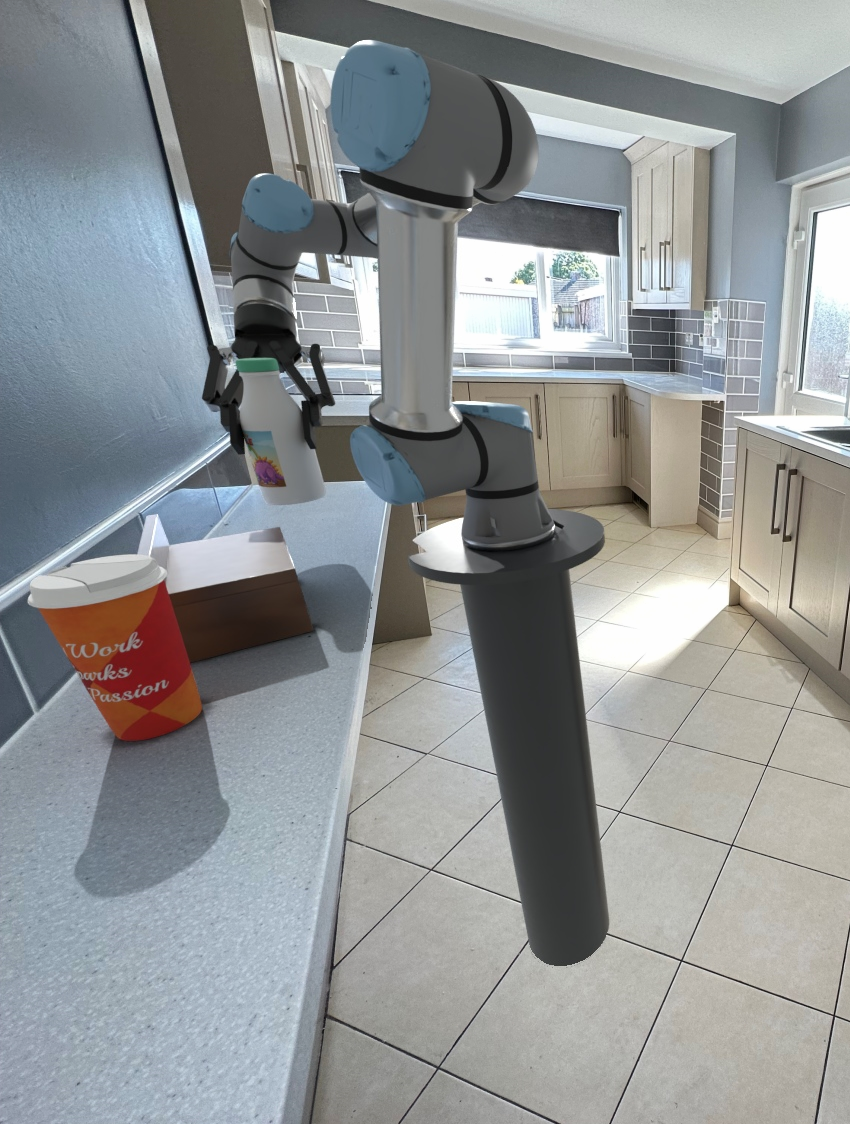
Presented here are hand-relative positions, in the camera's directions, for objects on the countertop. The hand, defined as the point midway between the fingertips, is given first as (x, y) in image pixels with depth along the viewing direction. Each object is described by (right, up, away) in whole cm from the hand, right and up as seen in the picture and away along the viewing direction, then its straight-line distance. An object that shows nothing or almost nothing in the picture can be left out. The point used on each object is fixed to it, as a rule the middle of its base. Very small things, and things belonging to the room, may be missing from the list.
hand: (274, 446), depth 85 cm
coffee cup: (+12, -31, -29) cm, 44 cm away
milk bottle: (-2, -7, +6) cm, 9 cm away
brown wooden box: (+5, -23, -11) cm, 26 cm away
